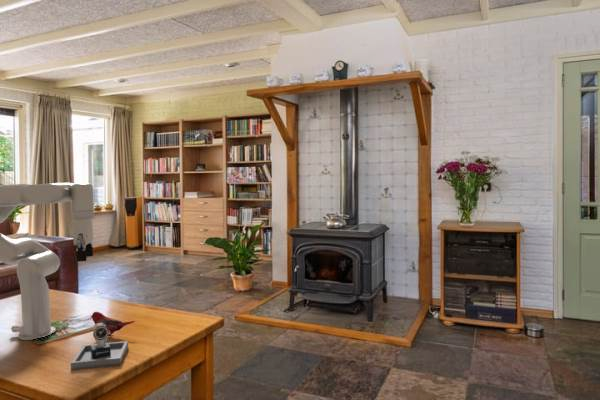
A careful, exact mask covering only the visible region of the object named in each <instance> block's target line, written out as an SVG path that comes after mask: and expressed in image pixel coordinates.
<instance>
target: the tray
mask: <svg viewBox="0 0 600 400" xmlns="http://www.w3.org/2000/svg"><path fill="white" fill-rule="evenodd" d="M108 343H109V345H110V351H111V355H110V356H106V357H101V358H97V359H93V358H92V355H91V346H94V345H97V343H91V344H83V345H82V347H80V349H79V351H78V352H77V354H76V355H75V356H74V358H72V361H71V362H70V370H71V371H77V370H79V371H80V370H88V368H89V369H97V368H98V369H99V368H108V367H118V366H122V363H123V361H124V358H125V356H126V355H127V352H128V350H129V341H115V342H114V341H113V342H108Z"/></svg>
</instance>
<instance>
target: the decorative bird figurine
mask: <svg viewBox="0 0 600 400" xmlns="http://www.w3.org/2000/svg"><path fill="white" fill-rule="evenodd" d="M90 318H91V319H92V321H93V323H94V325H95V324H98V323H103V324H105V326H106V327H107V328H108V330H109V331H110V333H109V335H108V337H111V338H112V337H115V335H114V333H115V332H117V331H120V330H121V329H122V328H124V327H126V326H127V325H130V324H133V323H135V322H136V321H135V320H132V321H126V322H122V321H121V320H117V319H115V318H111V317H108V316H105V314H103V313H102V312H99V311H94V312H93V313H92V314H91V316H90Z"/></svg>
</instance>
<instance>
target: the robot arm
mask: <svg viewBox="0 0 600 400" xmlns="http://www.w3.org/2000/svg"><path fill="white" fill-rule="evenodd" d="M69 202H71V213H72V216H71V217H72V220H73V245H74V246H76V261H77V262H86V261H87V257H93V256H94V254H93V253H94V250H93V249H94V248H93V247H94V246H93V241H94V231H93V228H94V227H93V219H95V207H94V186H93V185H92V183H89V182H87V183H86V182H83V183H82V182H77V183H72V182H54V183H52V182H51V183H41V184H40V183H39V184H30V183H16V184H0V224H2V223H3V222H5V221H6V220H7V218H8V217H9V216H10V215H11V214H12V213H13V212H14V211H15V210H16V209H17V208H18V207H25V206H32V205H49V204H50V205H51V204H52V205H53V204H60V203H69ZM0 262H2V263H3V264H5V265H10V266H11V265H16V264H17V267H16V275H17V279H18V284H19V288H20V299H21V317H22V319H21V320H22V324H20V325H12V326H11V328H10V329H11V332H12V333H18V339H19V340H21V341H34V340H33V339H36V338H39V337H43V336H47V335H50V334H52V333H54V332H55V331H56V329H57V328H56V327H55V326H52V323H51V321H52V320H51V303H50V301H51V299H50V287H49V284H48V281H47V280H46V277H47V276H49V275H52V274H54V273H56V272H57V271H58V270H59V268H60V266H61V261H60V257H59V256H58V255H57V254H56V253H55V252H54V251H53V250H51V249H49V248H48V247H46V246H45V245H43V244H41V243H40V242H38V241H37V240H35V239H33V238H29V237H19V238H10V237H8V236H6V235H5V234H3V233H2V232H0ZM55 333H56V332H55ZM55 333H54V334H55ZM52 335H53V334H52ZM50 336H51V335H50ZM36 340H37V339H36Z"/></svg>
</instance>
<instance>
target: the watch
mask: <svg viewBox="0 0 600 400" xmlns="http://www.w3.org/2000/svg"><path fill="white" fill-rule="evenodd" d="M92 333H93V334H92V336H93V338H94V341H95V344H97V345H94V346H91V355H92V358H93V359H97V358H101V357H106V356H110V355H111V351H110V345H109V343H110V342H107V341H108V335H109V334H110V331H109V330H108V328H107V327H106V326H105V324H103V323H98V324H95V323H94V329H93V332H92Z"/></svg>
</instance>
